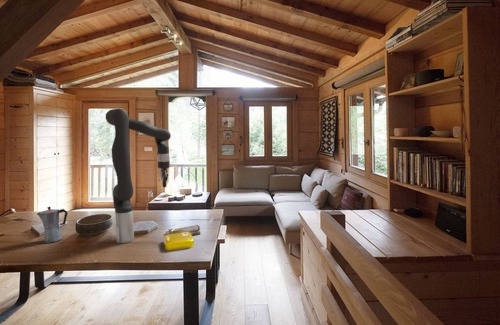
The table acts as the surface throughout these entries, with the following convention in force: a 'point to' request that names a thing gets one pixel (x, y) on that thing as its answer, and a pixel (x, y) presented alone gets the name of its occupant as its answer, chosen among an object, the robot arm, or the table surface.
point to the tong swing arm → (186, 227)
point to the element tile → (178, 241)
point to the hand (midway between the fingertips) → (164, 187)
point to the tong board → (190, 232)
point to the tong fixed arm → (184, 230)
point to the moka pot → (52, 224)
